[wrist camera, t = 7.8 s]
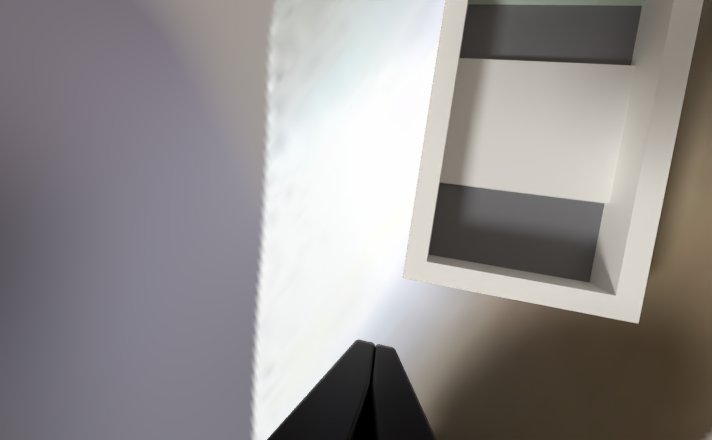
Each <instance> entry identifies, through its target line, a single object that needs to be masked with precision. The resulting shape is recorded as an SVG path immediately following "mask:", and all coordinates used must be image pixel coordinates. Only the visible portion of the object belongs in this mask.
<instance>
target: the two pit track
mask: <svg viewBox="0 0 712 440" xmlns="http://www.w3.org/2000/svg"><path fill="white" fill-rule="evenodd" d="M703 1H704V0H445V7H444V13H443V20H442V26H441V33H440V39H439V46H438V52H437V59H436V65H435V72H434V78H433V85H432V91H431V98H430V104H429V111H428V117H427V124H426V130H425V137H424V143H423V150H422V156H421V163H420V169H419V176H418V182H417V189H416V195H415V202H414V208H413V215H412V221H411V227H410V234H409V240H408V247H407V253H406V260H405V266H404V273H403V278H405V279H410V280H415V281H420V282H426V283H431V284H436V285H441V286H446V287H452V288H457V289H462V290H467V291H472V292H477V293H483V294H488V295H493V296H498V297H503V298H508V299H514V300H519V301H524V302H529V303H534V304H539V305H545V306H550V307H555V308H560V309H565V310H571V311H576V312H581V313H586V314H591V315H596V316H602V317H607V318H612V319H617V320H622V321H627V322H633V323H639V319H640V314H641V309H642V304H643V299H644V294H645V289H646V284H647V279H648V274H649V269H650V264H651V259H652V254H653V249H654V244H655V239H656V234H657V229H658V224H659V219H660V214H661V209H662V204H663V199H664V194H665V189H666V184H667V180H668V175H669V170H670V165H671V160H672V155H673V150H674V145H675V140H676V135H677V130H678V125H679V120H680V115H681V110H682V105H683V100H684V95H685V90H686V85H687V80H688V75H689V70H690V65H691V60H692V55H693V50H694V45H695V41H696V36H697V31H698V26H699V21H700V16H701V11H702V6H703Z"/></svg>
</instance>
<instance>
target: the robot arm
mask: <svg viewBox="0 0 712 440" xmlns="http://www.w3.org/2000/svg"><path fill="white" fill-rule="evenodd" d="M267 440H437V439H436V437H435V435H434V433H433V431H432V429H431V426H430V424H429V422H428V420H427V418H426V416H425V413H424V411H423V409H422V407H421V405H420V403H419V400H418V398H417V396H416V394H415V392H414V389H413V387H412V385H411V383H410V381H409V379H408V376H407V374H406V372H405V370H404V368H403V366H402V363H401V361H400V359H399V357H398V355H397V353H396V350H395V349H394V348H393V347H389V346H385V345H380V344H377V345H376V346H375V345H374V343H372V342H367V341H363V340H356V341H355V342H354V343H353V344H352V345H351V347H350V348H349V349H348V350H347V351H346V352H345V353H344V354H343V355H342V357H341V358H340V359H339V360H338V361H337V362H336V363H335V364H334V365H333V367H332V368H331V369H330V370H329V371H328V372H327V373H326V374H325V376H324V377H323V378H322V379H321V380H320V381H319V382H318V383H317V384H316V386H315V387H314V388H313V389H312V390H311V391H310V392H309V393H308V395H307V396H306V397H305V398H304V399H303V400H302V401H301V402H300V403H299V405H298V406H297V407H296V408H295V409H294V410H293V411H292V412H291V413H290V415H289V416H288V417H287V418H286V419H285V420H284V421H283V422H282V424H281V425H280V426H279V427H278V428H277V429H276V430H275V431H274V432H273V434H272V435H271V436H270V437H269V438H268V439H267Z"/></svg>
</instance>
